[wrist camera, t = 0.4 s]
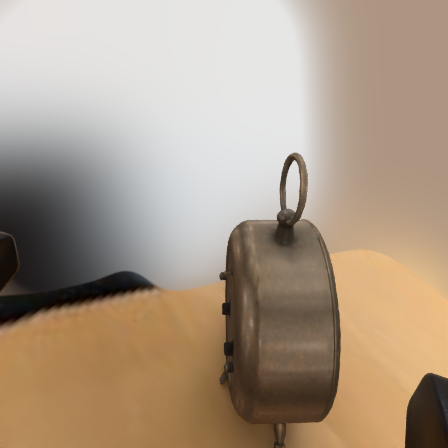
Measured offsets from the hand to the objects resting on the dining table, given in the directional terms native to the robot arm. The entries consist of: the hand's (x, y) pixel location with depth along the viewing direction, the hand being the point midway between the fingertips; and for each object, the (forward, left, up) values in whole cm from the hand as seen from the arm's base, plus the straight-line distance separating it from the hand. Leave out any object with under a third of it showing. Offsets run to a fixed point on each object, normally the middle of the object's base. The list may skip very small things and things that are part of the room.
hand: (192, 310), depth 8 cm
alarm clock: (+11, -1, -17) cm, 20 cm away
